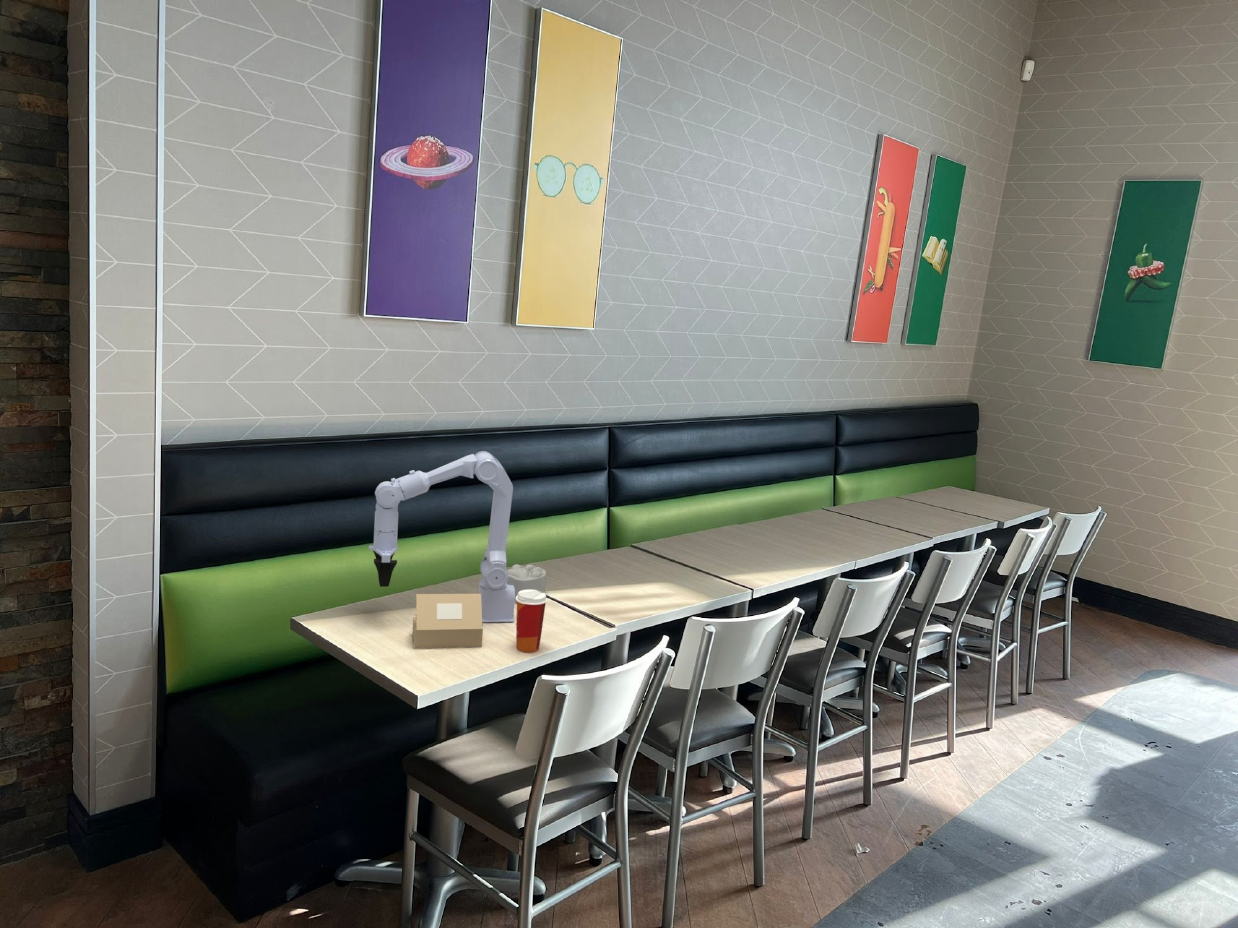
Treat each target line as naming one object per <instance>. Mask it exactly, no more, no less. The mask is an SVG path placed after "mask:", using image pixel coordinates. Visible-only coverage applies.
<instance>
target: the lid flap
mask: <svg viewBox="0 0 1238 928" xmlns="http://www.w3.org/2000/svg"><path fill="white" fill-rule="evenodd" d="M415 595H416V596H415V597H416V600H415V605H416V606H415V607H416V608H415V609H416V610H415V612H416V613H415V617H416V631H419V630H477V629H482V628H483V622H482V605H481V594H479V593H416V594H415Z"/></svg>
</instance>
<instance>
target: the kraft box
mask: <svg viewBox="0 0 1238 928" xmlns="http://www.w3.org/2000/svg"><path fill="white" fill-rule="evenodd" d="M411 632H412V633H411V634H412V641H413V646H414V649H444V648H446V649H447V648H449V649H450V648H451V649H452V648H482V647H483V635H484V633H483V632H484V628H483V627H482V629H477V630H419V631H416V616H413V617H412V631H411Z"/></svg>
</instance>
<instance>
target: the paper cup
mask: <svg viewBox="0 0 1238 928" xmlns="http://www.w3.org/2000/svg"><path fill="white" fill-rule="evenodd" d="M516 600H517V604H516V625H515V626H516V627H515V628H516V630H515V631H516V634H515V639H516V641H515V642H516V643H515V645H516V646H515V647H516V649H517V651H519V652H522V653H525V654H526V653H529V654H530V653H535V652H536V653H537V652H538V651H539V649H540V645H541V639H542V632H543V625H544V619H545V618H544V616H545V610H546V603H547V602H548V598H547V594H546V592H545V593H543V592H540V591H538V590H522V591H519V592H518V595H517V596H516Z"/></svg>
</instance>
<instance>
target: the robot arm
mask: <svg viewBox="0 0 1238 928" xmlns="http://www.w3.org/2000/svg"><path fill="white" fill-rule="evenodd" d="M474 475H475V476H476V477H477V479H478V480H479V481H481V482H482V483H484V484H486V485H488V486H489V487H490V488H491V489H492V490H493V495H492V502H491V503H492V504H491V509H490V510H491V512H490V521H489V530H488V538H487V546H486V547H487V548H486V549H485V552H484V557H483V559H482V560H481V562H480V565H479V572H480V574H481V575H482V578H481V579H480V581H479V583H478V584H479V585H478V594H481V605H482V623H511V622H512V623H513V622H514V619H515V618H514V615H515V605H516V604H515V589H514V586H513V585H507V581H508V572H507V570H508V569H507V552H506V550H507V543H508V534H509V528H510V527H509V525H510V518H511V517H510V516H511V511H512V510H511V509H512V503H513V502H512V501H513V492H514V485H513V483H512V482H511V479H510V477H509V475H508V474H507V471H506V470H505V468H504V467H503V466H502V464H501V463H500V461H499V460H498V459H497V458H496V457H495V456H494V455H493V454H491V452H488V451H483V450H482V451H478V452H476V453H475V454H474V453H471V454H469V455H468V454H467V455H465V456H463V457H461V458H459V459H456V460H454V461H451V462H448V463H447V464H445V465H442V466H440V467H438V468H435V469H432V470H430V471H428V472H423V471H421V470H416V471H415V469H413V470H410V471H409V474H407V475H404V476H400V477H398V478H396V477H393V478H390V481H388V480H387V481H383V482H380V483H379V484H378V485H377V487H376V488H375V491H374V495H375V500H376V504H375V511H374V524H373V525H374V527H373V544H369V545H368V550H369V551H373V554H374V556H375V558H373V563H374V564H373V565H374V566H375V568H376V571H377V577H378V584H379V587H381V588H382V587H383V588H385V587H386V588H387V587H389V586H390V582H391V578H392V576H393V572H394V569H396V566H397V564H398V560H397V559H393V558H394V556H395V553H396V552H397V551H398V547H399V546H398V530H399V529H398V527H399V511H398V510H399V504H400V502H401V501H403V502H404V501H406V500H409V499H412V498H415V497H416V496H419V495H422V494H425V493H427V492H428V491H429V489H430V487H431V486H433V485H435V484H437V483H443V482H444V481H448V480H450V479H454V478H457V477H459V476H462V477H466V478H470V479H474Z"/></svg>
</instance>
